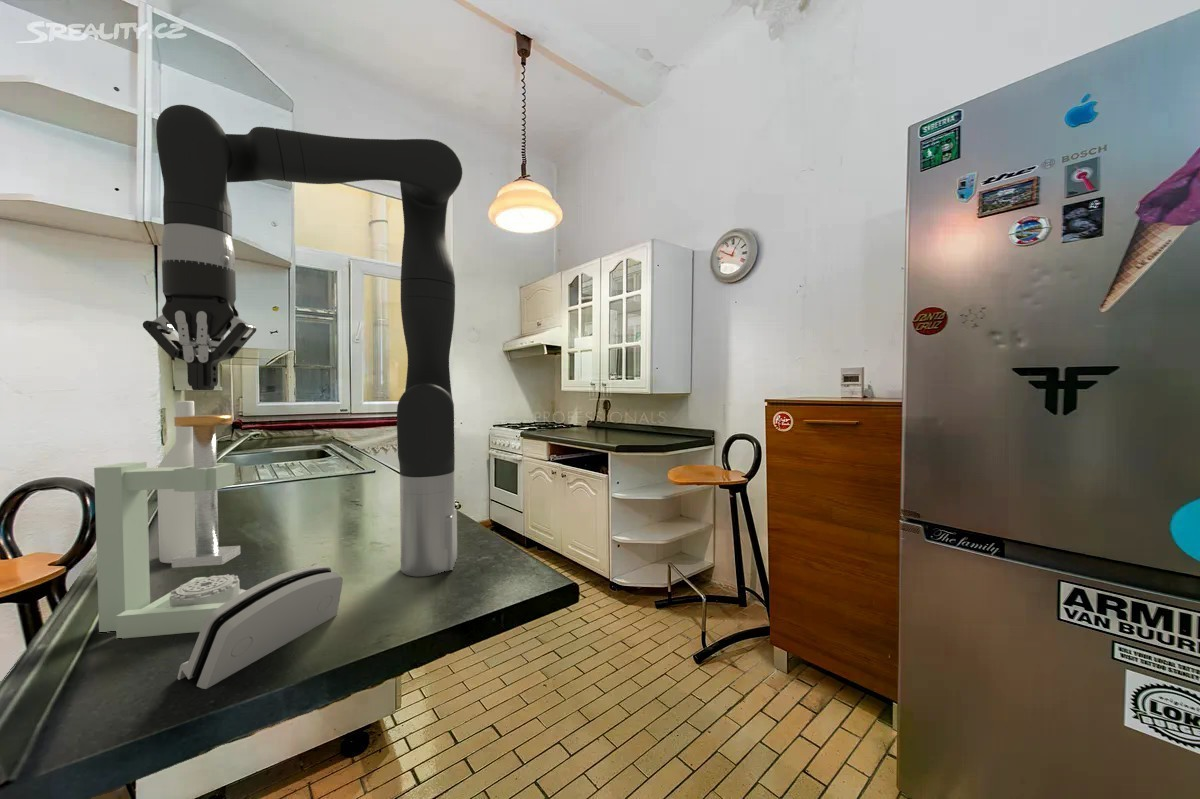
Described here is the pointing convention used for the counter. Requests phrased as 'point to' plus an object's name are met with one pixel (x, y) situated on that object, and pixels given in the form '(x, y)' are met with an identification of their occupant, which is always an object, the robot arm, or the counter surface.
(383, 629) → the counter surface
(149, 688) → the counter surface
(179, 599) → the mechanical component
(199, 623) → the frame
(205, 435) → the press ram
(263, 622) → the grey curved housing
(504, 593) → the counter surface
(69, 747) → the counter surface
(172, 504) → the bottle
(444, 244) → the robot arm
